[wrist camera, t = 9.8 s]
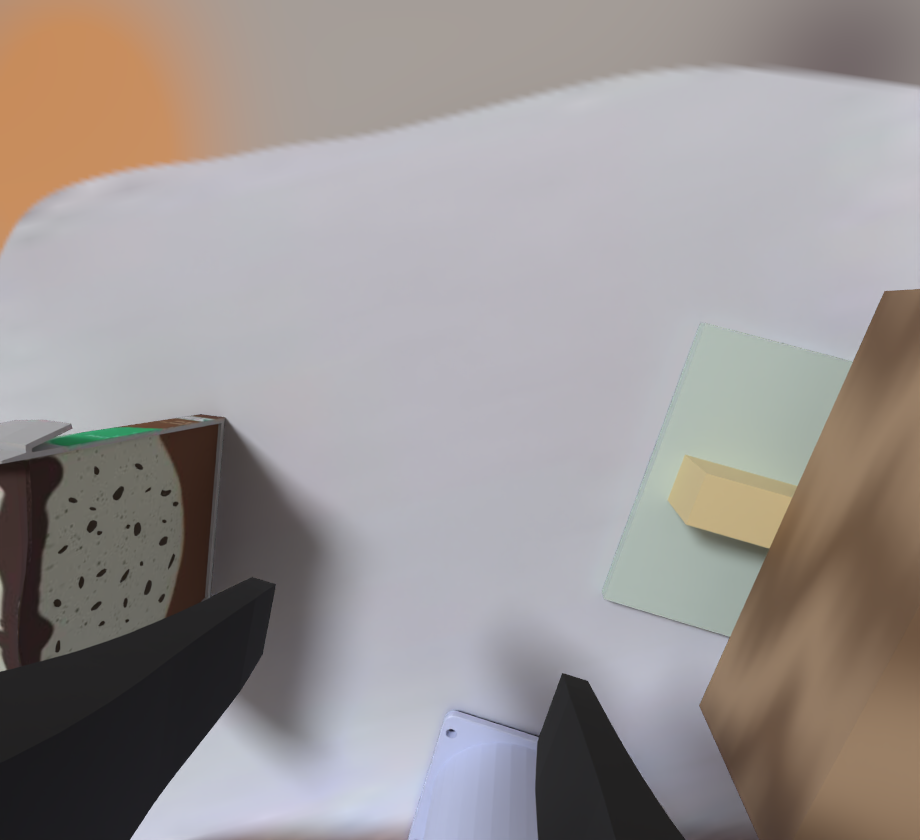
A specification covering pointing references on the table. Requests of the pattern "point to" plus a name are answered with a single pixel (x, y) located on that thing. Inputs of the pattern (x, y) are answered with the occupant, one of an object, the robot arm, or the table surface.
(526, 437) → the table surface
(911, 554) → the walnut bar
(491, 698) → the table surface
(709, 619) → the ridge stand
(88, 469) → the food container
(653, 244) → the table surface
